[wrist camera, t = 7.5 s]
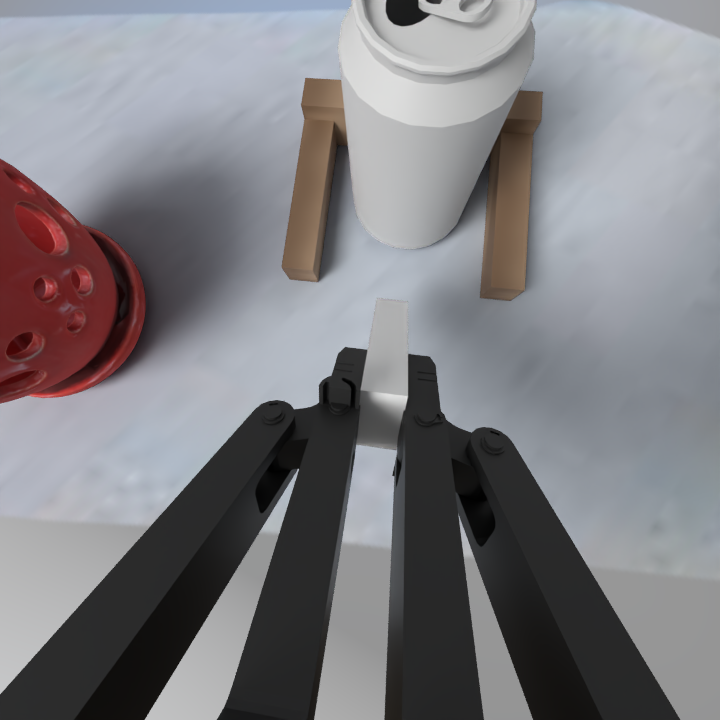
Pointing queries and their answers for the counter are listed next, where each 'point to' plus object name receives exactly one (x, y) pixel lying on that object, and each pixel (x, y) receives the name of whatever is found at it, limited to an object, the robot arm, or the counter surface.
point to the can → (427, 106)
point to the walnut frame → (503, 198)
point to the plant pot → (60, 296)
